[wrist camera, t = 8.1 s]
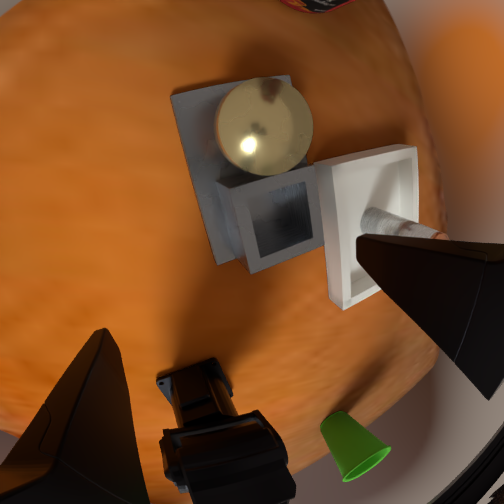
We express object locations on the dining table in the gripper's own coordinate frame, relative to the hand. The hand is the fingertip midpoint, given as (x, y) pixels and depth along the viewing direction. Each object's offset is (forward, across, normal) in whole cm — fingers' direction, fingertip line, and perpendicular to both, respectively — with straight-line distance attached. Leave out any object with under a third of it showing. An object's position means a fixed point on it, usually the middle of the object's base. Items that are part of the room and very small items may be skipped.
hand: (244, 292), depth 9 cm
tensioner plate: (+13, -6, -1) cm, 14 cm away
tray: (+13, -17, +6) cm, 22 cm away
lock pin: (+12, -17, +6) cm, 22 cm away
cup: (+13, -12, +40) cm, 44 cm away
